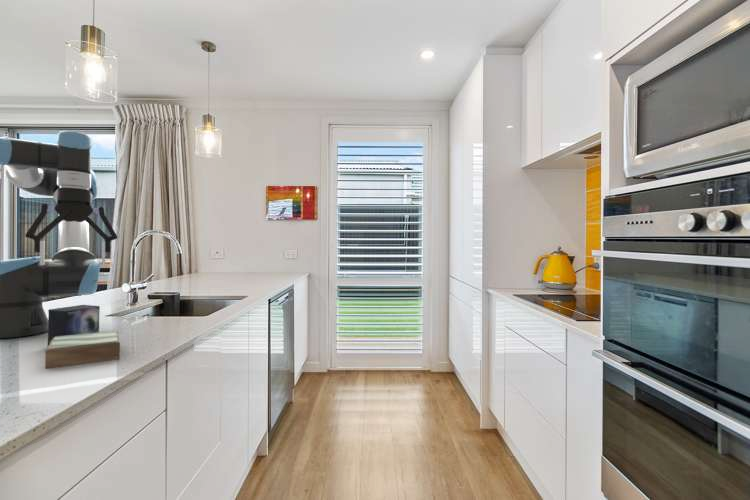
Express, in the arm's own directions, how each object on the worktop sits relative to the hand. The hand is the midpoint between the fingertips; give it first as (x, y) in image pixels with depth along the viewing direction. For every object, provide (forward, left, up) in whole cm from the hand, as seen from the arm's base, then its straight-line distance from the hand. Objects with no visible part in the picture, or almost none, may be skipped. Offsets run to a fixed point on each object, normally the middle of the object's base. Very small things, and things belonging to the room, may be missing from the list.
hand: (74, 264), depth 110 cm
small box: (-1, 0, -23) cm, 23 cm away
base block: (+16, +3, -23) cm, 28 cm away
